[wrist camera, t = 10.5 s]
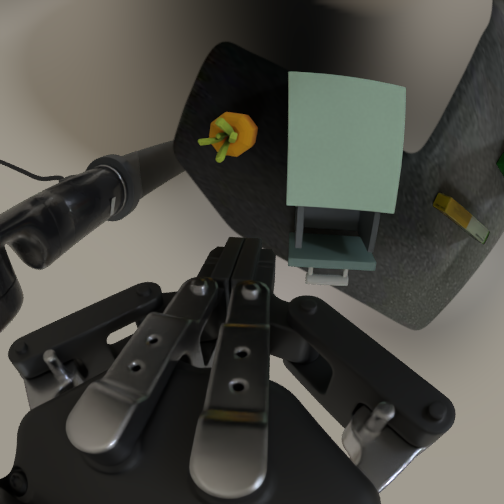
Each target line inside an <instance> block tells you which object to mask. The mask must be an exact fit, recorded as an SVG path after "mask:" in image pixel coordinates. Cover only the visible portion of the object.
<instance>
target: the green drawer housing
mask: <svg viewBox="0 0 504 504" xmlns="http://www.w3.org/2000/svg"><path fill="white" fill-rule="evenodd" d="M405 101H406V88H405V87H402V86H397V85H393V84H388V83H383V82H378V81H373V80H367V79H361V78H355V77H347V76H339V75H331V74H319V73H306V72H305V73H304V72H288V166H287V198H286V205H291V206H308V207H324V208H338V209H350V210H362V211H373V212H383V213H394V211H395V205H396V199H397V193H398V186H399V179H400V171H401V162H402V153H403V141H404V128H405V106H406V102H405Z"/></svg>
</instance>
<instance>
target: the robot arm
mask: <svg viewBox="0 0 504 504" xmlns="http://www.w3.org/2000/svg"><path fill="white" fill-rule="evenodd" d="M0 164H2V165H5V166H8V167H10V168H12V169H14V170H16V171H18V172H21V173H23V174H25V175H27V176H29V177H31V178H33V179H36V180H40V181H50V180H59V183H58V184H56V185H54V186H52V187H50V188H48V189H45V190H43V191H42V192H40V193H38V194H36V195H34V196H32V197H30V198H28V199H26V200H24V201H23V202H21V203H19V204H17V205H16V206H14V207H12V208H10V209H9V210H7V211H5V212H3V213H2V214H0V333H1V332H2V331H3V330H4V329H5V328H6V327H7V326H8V324H9V323H10V322H11V321H12V320H13V319H14V317H15V316H16V315H17V313H18V312H19V310H20V308H21V306H22V303H23V292H22V289H21V286H20V284H19V282H18V279H17V277H16V275H15V272H14V270H13V267H12V265H11V263H10V260H9V257H8V255H7V252H6V250H5V244H8V245H9V246H10V247H11V248H12V249H13V251H14V252H15V253H16V254H17V255H18V257H20V259H21V260H22V261H23V262H24V263H25V264H27V265H28V266H29V267H31V268H34V269H38V270H39V269H40V270H41V269H44V268H46V267H48V266H49V265H51V264H52V263H53V262H54V261H55V260H56V259H58V258H59V257H60V256H61V255H62V254H63V253H65V252H66V251H67V250H69V249H70V248H71V247H72V246H73V245H75V244H76V243H77V242H79V241H80V240H81V239H82V238H83V237H85V236H86V235H88V234H89V233H90V232H92V231H93V230H94V229H96V228H97V227H98V226H100V225H101V224H102V223H104V222H105V221H107V220H108V219H109V218H111V217H112V216H114V215H116V214H118V213H119V212H120V211H122V209H123V208H124V207H125V205H126V202H127V198H128V189H127V184H126V181H125V179H124V177H123V175H122V174H121V173H120V171H119V170H118V169H116V168H115V167H113V166H111V165H108V164H102V165H99V166H96V167H94V168H93V169H90V170H88V171H85V172H83V173H80V174H78V175H71V176H68V177H65V178H64V177H62V176H49V177H41V176H37V175H34V174H32V173H30V172H28V171H26V170H23V169H21V168H19V167H16V166H14V165H12V164H10V163H7V162H5V161H2V160H0ZM275 258H276V255H275V254H274V252H273V251H272V249H262V240H261V239H260V238H239V237H229V239H228V241H227V242H226V245H225V247H217V248H215V249H214V250H212V251H211V252H210V253H209V256H208V257H207V259H206V261H205V264H203V266H202V268H201V270H200V272H199V274H198V276H197V277H195V278H191V279H189V280H187V281H186V282H185V283H183V285H182V286H181V287H180V289H179V290H178V291H177V292H169V293H162V292H161V288H160V286H159V285H158V284H156V283H152V282H144V283H140V284H137V285H135V286H132V287H130V288H128V289H126V290H123V291H121V292H119V293H117V294H114V295H112V296H110V297H108V298H106V299H103V300H101V301H99V302H97V303H94V304H92V305H90V306H88V307H86V308H83V309H81V310H79V311H77V312H75V313H72V314H70V315H68V316H66V317H64V318H61V319H59V320H57V321H55V322H53V323H51V324H49V325H46V326H44V327H42V328H40V329H38V330H36V331H34V332H31V333H29V334H27V335H25V336H23V337H21V338H19V339H17V340H16V341H15V342H14V343H13V344H12V345H11V347H10V349H9V352H8V357H9V359H10V361H11V362H12V364H13V365H14V366H15V368H16V369H17V370H18V372H19V373H20V375H21V377H22V378H23V379H24V383H25V388H26V392H27V397H28V402H29V406H30V411H29V412H28V413H27V414H26V415H25V417H24V418H23V419H22V421H21V423H20V426H19V429H18V433H17V449H16V456H15V461H14V465H13V468H12V470H11V472H10V473H9V474H8V475H7V476H6V477H4V478H2V479H0V504H381V501H380V496H379V493H380V492H381V491H382V490H383V489H384V488H385V487H386V486H388V485H389V484H390V483H391V482H392V481H393V480H394V479H395V478H396V477H397V476H398V475H399V474H400V473H401V472H402V471H403V470H404V469H405V468H406V467H407V466H408V465H409V464H410V463H411V461H412V460H413V459H414V458H415V457H416V456H418V455H419V454H421V453H422V452H423V451H424V450H426V449H427V448H428V447H429V446H430V445H432V444H433V443H434V442H435V441H436V440H438V439H439V438H440V437H441V436H442V435H443V434H444V433H445V432H447V431H448V430H449V429H450V428H451V426H452V425H453V423H454V420H455V409H454V406H453V404H452V402H451V401H450V400H449V399H448V398H447V397H446V396H445V395H444V394H442V393H441V392H440V391H438V390H437V389H436V388H435V387H433V386H432V385H431V384H429V383H428V382H427V381H426V380H424V379H423V378H422V377H420V376H419V375H418V374H417V373H416V372H414V371H413V370H412V369H410V368H409V367H408V366H407V365H405V364H404V363H403V362H402V361H400V360H399V359H397V358H396V357H395V356H394V355H393V354H391V353H390V352H389V351H387V350H386V349H385V348H383V347H382V346H381V345H380V344H378V343H377V342H376V341H375V340H373V339H372V338H371V337H369V336H368V335H367V334H366V333H364V332H363V331H362V330H360V329H359V328H358V327H357V326H355V325H354V324H353V323H351V322H350V321H349V320H348V319H346V318H345V317H344V316H342V315H341V314H340V313H338V312H337V311H336V310H335V309H333V308H332V307H331V306H330V305H328V304H327V303H326V302H324V301H323V300H321V299H319V298H317V297H314V296H299V297H296V298H294V299H293V300H292V301H291V302H286V301H283V300H281V299H279V298H278V297H276V296H275V295H274V294H273V291H274V282H275ZM133 322H136V325H137V328H138V329H137V330H136V331H135V333H134V334H132V335H130V336H128V337H126V338H124V339H122V340H120V341H118V342H116V343H114V344H107V337H108V336H109V334H110V333H112V332H114V331H116V330H118V329H121V328H123V327H125V326H127V325H129V324H131V323H133ZM270 355H273V356H276V357H279V358H282V359H283V363H284V365H285V366H286V368H287V369H288V370H289V371H290V372H291V373H292V374H293V375H294V376H295V377H296V378H297V380H298V381H300V383H301V384H302V385H303V386H304V387H305V388H306V389H307V390H308V391H309V392H310V393H311V395H312V396H313V397H314V398H315V399H316V400H317V401H318V402H319V403H320V404H321V405H322V406H323V407H324V408H325V409H326V410H327V411H328V412H329V413H330V414H331V415H332V416H333V417H334V418H335V419H336V420H337V421H338V422H339V423H340V424H341V425H342V426H343V427H344V428H345V430H344V432H343V434H342V444H343V446H344V448H345V450H346V451H347V452H348V454H349V456H350V458H348V457H347V455H346V454H345V453H344V452H343V451H342V450H341V449H340V448H339V446H338V445H337V444H336V443H335V442H334V441H333V440H332V439H331V437H330V436H329V435H328V434H327V433H326V432H325V431H324V429H323V428H322V427H321V426H320V425H319V424H318V423H317V421H316V420H315V419H314V418H313V417H312V416H311V414H310V413H309V412H308V411H307V410H306V408H305V407H304V406H303V405H302V404H301V402H300V401H299V400H298V399H297V398H296V397H295V396H294V395H293V394H292V393H291V392H290V391H289V390H287V389H286V388H284V387H283V386H281V385H279V384H278V383H275V382H273V381H271V380H269V367H270Z"/></svg>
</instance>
